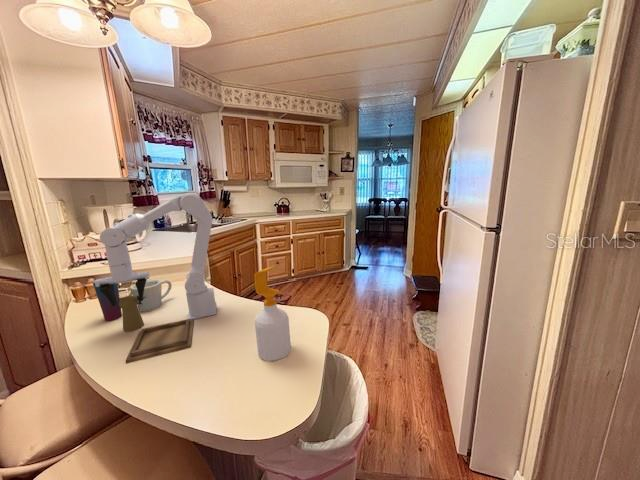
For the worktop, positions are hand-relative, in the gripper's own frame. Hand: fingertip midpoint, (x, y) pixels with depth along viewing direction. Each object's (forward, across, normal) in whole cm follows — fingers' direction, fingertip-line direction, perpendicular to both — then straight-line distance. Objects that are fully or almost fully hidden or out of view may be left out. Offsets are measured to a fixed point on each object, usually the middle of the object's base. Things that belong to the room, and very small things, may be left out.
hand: (128, 302), depth 89 cm
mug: (+9, -4, -17) cm, 20 cm away
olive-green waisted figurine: (+9, 0, 0) cm, 9 cm away
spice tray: (+9, -11, +14) cm, 20 cm away
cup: (+9, +9, -12) cm, 18 cm away
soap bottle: (+9, -41, +35) cm, 55 cm away
